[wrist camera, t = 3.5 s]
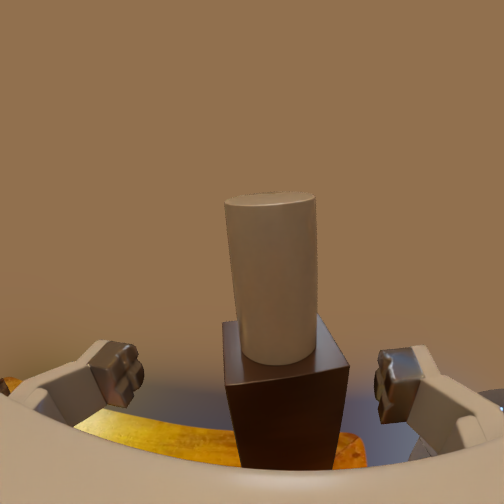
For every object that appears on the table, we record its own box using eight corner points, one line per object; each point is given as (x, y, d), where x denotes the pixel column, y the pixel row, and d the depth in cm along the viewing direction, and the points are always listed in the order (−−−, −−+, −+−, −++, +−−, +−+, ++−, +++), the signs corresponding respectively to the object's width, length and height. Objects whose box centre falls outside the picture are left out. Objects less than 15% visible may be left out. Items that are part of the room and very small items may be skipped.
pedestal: (307, 473, 30) (316, 309, 22) (319, 517, 23) (350, 365, 16) (250, 482, 29) (222, 321, 22) (256, 528, 22) (224, 385, 15)
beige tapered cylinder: (305, 318, 21) (301, 189, 18) (326, 358, 17) (328, 200, 14) (238, 327, 21) (223, 196, 18) (243, 371, 16) (224, 208, 14)
